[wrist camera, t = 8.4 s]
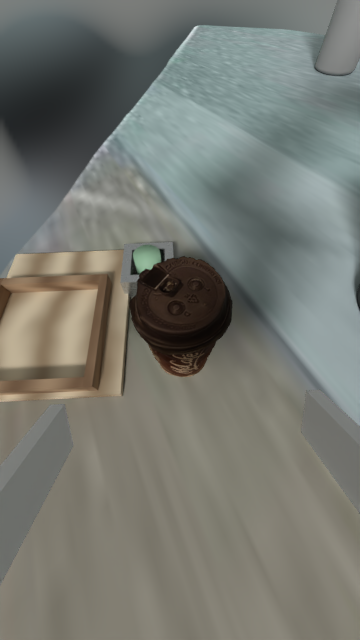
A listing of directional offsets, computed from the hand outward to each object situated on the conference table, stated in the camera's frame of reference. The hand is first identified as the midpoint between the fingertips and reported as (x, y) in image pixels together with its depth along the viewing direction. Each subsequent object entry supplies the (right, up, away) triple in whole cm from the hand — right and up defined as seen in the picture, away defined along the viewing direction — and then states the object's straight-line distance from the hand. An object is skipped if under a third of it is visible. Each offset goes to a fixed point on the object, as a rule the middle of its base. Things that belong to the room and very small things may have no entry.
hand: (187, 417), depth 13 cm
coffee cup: (0, +1, +16) cm, 16 cm away
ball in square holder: (-5, +12, +22) cm, 25 cm away
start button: (-5, +12, +21) cm, 25 cm away
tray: (-16, +6, +19) cm, 26 cm away
